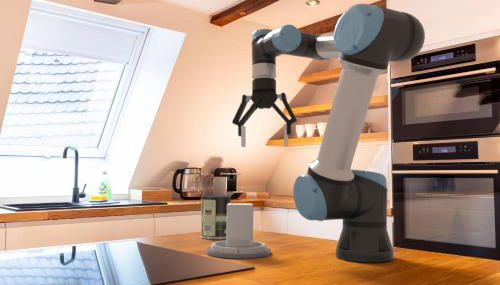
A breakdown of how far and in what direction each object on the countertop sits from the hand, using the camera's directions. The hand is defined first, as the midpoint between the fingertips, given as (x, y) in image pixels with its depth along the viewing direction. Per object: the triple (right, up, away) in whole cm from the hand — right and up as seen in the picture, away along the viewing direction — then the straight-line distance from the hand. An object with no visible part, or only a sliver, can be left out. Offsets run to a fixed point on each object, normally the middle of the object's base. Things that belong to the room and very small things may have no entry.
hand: (264, 146), depth 153 cm
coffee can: (-16, -31, +14) cm, 38 cm away
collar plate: (-8, -30, -17) cm, 35 cm away
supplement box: (-8, -29, -16) cm, 34 cm away
